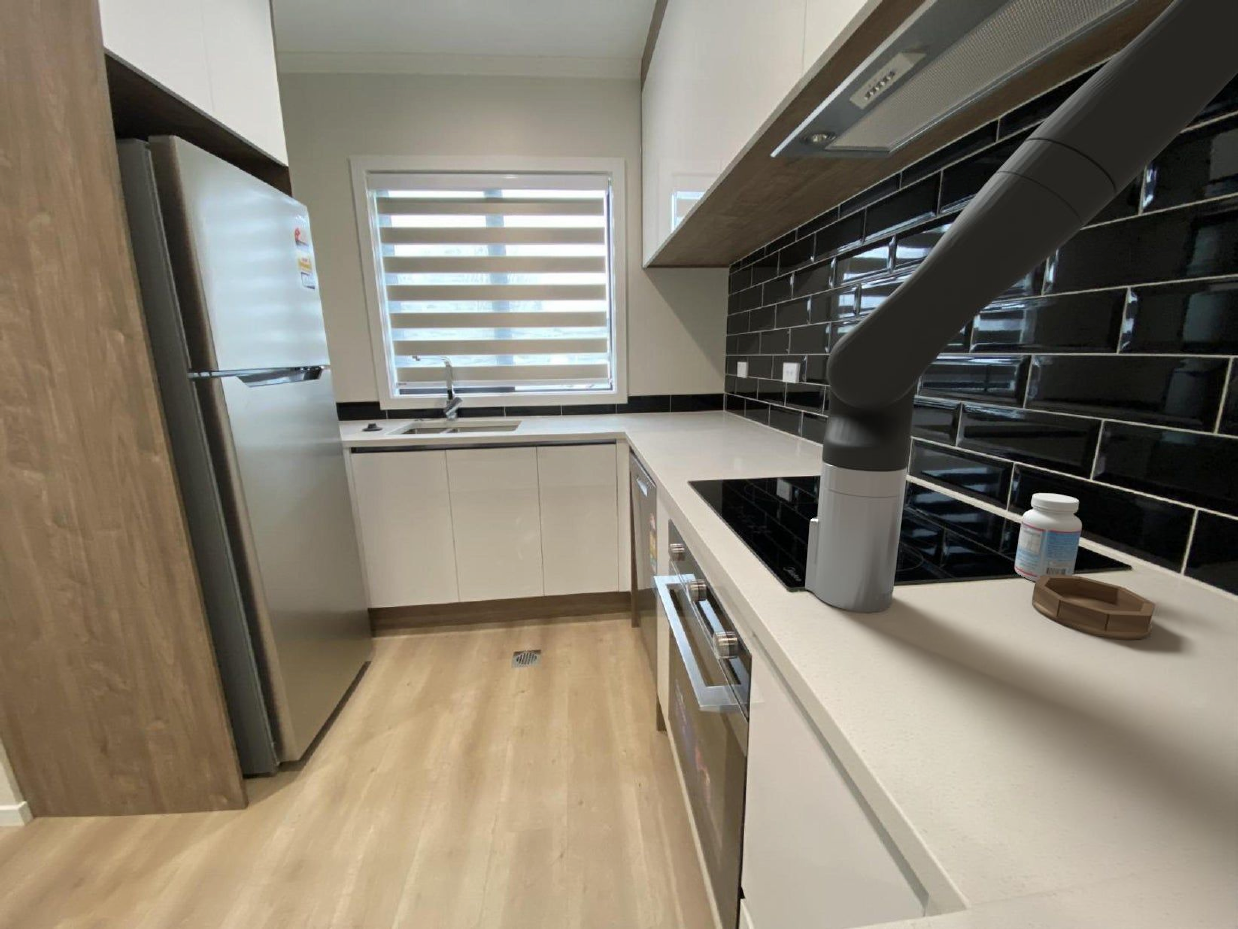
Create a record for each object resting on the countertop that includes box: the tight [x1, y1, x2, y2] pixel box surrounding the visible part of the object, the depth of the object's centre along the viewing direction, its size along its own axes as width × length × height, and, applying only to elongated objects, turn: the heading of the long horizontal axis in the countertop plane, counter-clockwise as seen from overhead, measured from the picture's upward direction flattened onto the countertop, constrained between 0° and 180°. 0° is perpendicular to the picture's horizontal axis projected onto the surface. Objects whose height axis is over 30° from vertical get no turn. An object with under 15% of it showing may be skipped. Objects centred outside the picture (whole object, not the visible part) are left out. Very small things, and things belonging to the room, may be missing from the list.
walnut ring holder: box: [1031, 575, 1156, 641], centre depth 57 cm, size 10×10×3 cm
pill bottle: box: [1014, 492, 1083, 583], centre depth 66 cm, size 6×6×11 cm
